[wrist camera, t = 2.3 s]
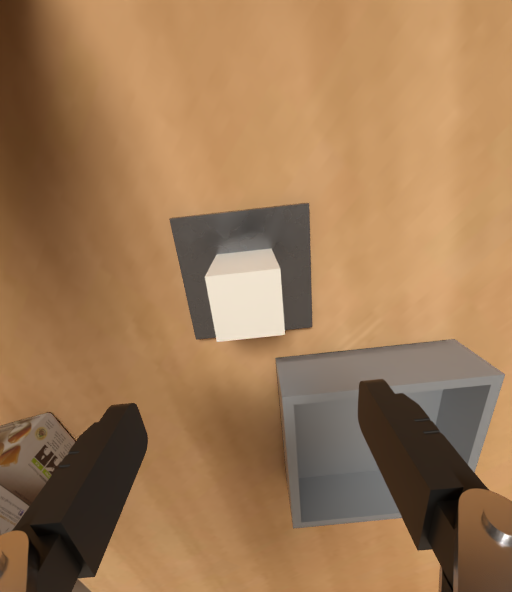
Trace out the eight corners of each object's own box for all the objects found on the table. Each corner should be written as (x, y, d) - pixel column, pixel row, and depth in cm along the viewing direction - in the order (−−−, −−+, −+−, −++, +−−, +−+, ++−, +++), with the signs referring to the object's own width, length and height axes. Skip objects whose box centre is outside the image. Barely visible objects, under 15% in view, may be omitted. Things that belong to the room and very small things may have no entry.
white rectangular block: (224, 304, 25) (216, 342, 19) (216, 254, 23) (204, 276, 17) (275, 299, 25) (285, 334, 19) (271, 248, 23) (280, 268, 17)
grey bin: (286, 476, 36) (293, 528, 30) (275, 358, 29) (281, 397, 23) (428, 462, 36) (462, 512, 30) (454, 339, 28) (505, 374, 23)
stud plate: (197, 334, 27) (184, 370, 22) (172, 217, 23) (148, 225, 17) (310, 322, 27) (326, 355, 22) (306, 202, 23) (325, 205, 17)
